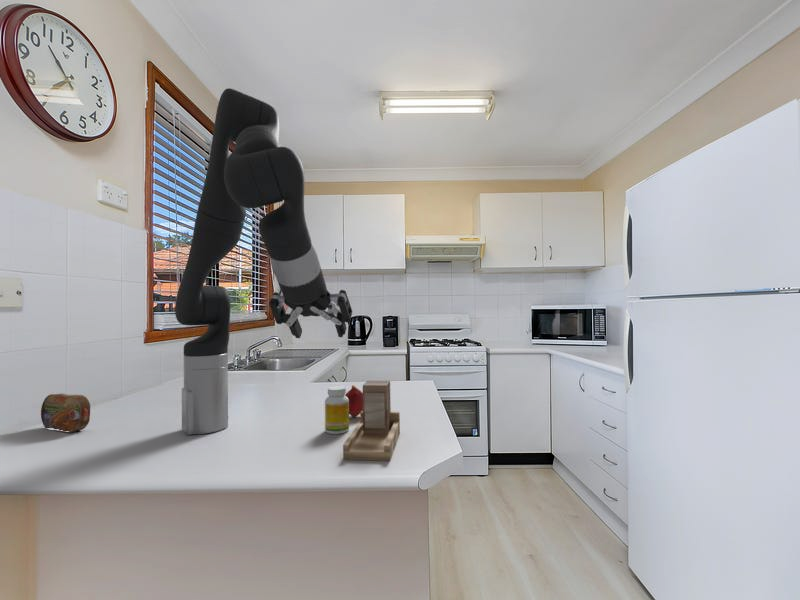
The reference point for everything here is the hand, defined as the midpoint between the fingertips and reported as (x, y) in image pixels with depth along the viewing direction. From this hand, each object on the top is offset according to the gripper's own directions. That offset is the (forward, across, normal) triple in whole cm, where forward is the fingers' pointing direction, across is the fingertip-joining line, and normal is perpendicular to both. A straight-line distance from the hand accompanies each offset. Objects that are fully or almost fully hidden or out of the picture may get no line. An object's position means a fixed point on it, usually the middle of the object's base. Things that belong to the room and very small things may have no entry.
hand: (320, 334), depth 76 cm
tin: (+22, +65, +9) cm, 69 cm away
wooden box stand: (+18, -10, +14) cm, 25 cm away
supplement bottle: (+24, 0, +8) cm, 25 cm away
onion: (+32, -1, 0) cm, 32 cm away
